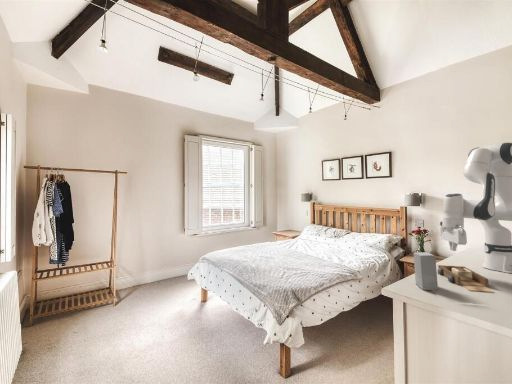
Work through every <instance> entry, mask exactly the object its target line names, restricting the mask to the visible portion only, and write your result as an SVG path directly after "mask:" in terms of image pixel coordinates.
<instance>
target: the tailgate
mask: <svg viewBox="0 0 512 384" xmlns="http://www.w3.org/2000/svg"><path fill="white" fill-rule="evenodd" d="M461 287H463V288H464V289H465V290H467V291H469V292H477V293H490V294H491V293H492V294H494V293H495V291H494V290H492V289H490V288H489V287H488V288H487V287H481V286H468V285H462V286H461Z"/></svg>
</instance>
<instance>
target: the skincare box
mask: <svg viewBox="0 0 512 384" xmlns="http://www.w3.org/2000/svg"><path fill="white" fill-rule="evenodd" d="M436 258H437V257H436V255H435V254H432V253H430V252H427V251H426V252H424V251H423V252H418V251H417V252H416V251H415V252H413V262H414V263H413V265H414V275H415V276H414V277H415V285H416V286H418V288H420V289H421V290H423V291H433V290H434V291H438V290H439V288H438V287H439V285H438V283H439V282H438V270H437V261H436Z"/></svg>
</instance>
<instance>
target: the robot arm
mask: <svg viewBox="0 0 512 384" xmlns="http://www.w3.org/2000/svg"><path fill="white" fill-rule="evenodd" d="M462 173H463V176H464V177H465V178H466V180H469V181H470V182H472V183H475V184H478V185H479V184H480V185H481V187H482V188H481V198H480V199H478V200H475V199H474V200H473V199H472V200H468V199H465V198H464V197H463V194H461V193H449V194H446V195H444V198H443V200H442V201H443V202H442V212H443V216H442V220H441V221H439V226H440V237H441V239H442V240H445V241H448V246H449V250H450V251H454V252H456V251H457V247H458V245H460V246H465V245H467V243H468V241H467V238H468V237H467V232H466V230H465V224H464V223H465V219H475V220H478V221H479V222H480V223H481V225H482V226H483V229H484V236H485V237H484V238H485V240H484V241H485V242H484V258H483V263H482V265H481V267H482V268H484V269H488V270H491V271H498V272H502V273H507V274H512V232H511V230H510V229H509V228H508V227H505V226H504V225H502V224H501V223H500V221H509V222H512V142H503V143H493V144H489V145H484V146H479V147H475V148H472V149H471V150H470V151H469V152H468V156H467V159H466V161H465V163H464V167H463V171H462ZM495 196H496V197H497V200H495V199H496V198H495Z"/></svg>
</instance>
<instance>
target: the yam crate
mask: <svg viewBox="0 0 512 384" xmlns="http://www.w3.org/2000/svg"><path fill="white" fill-rule="evenodd" d="M452 272H453V273H454V274H456V275H458V276H459V277H461V280H469V281H472V272H471V271H469V270H467V269H465V268H452Z"/></svg>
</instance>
